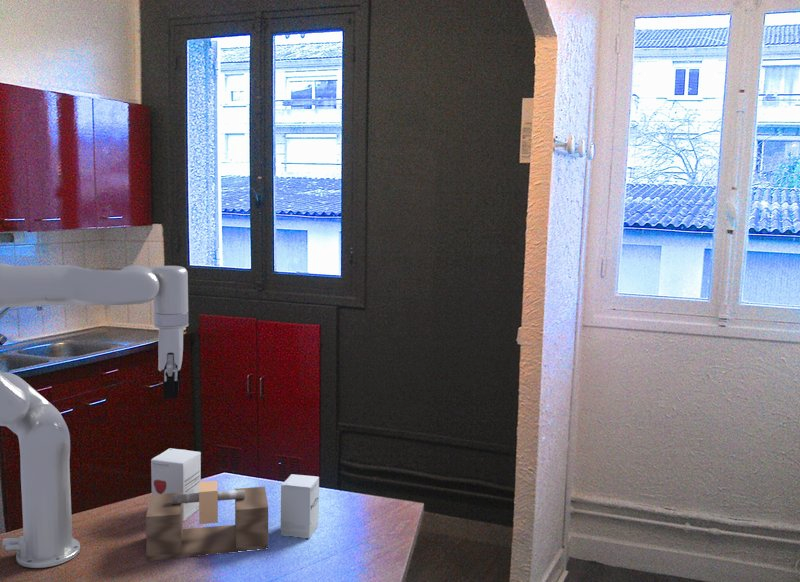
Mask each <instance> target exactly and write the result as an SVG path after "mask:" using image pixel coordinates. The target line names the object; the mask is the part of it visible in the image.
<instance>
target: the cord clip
mask: <svg viewBox="0 0 800 582" xmlns="http://www.w3.org/2000/svg"><path fill="white" fill-rule="evenodd" d="M218 486H219V485H218V480H208V481H201V482H200V483H199V509H198V511H199V512H198V514H199V515H198V518H199V519H198V521H199V523H198V524H199V525H207V524H208V525H209V524H217V523H219V515H218V513H219V512H218V511H219V509H218V508H219V505H218V504H219V503H218V502H219V501H218V492H219V490H218Z"/></svg>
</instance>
